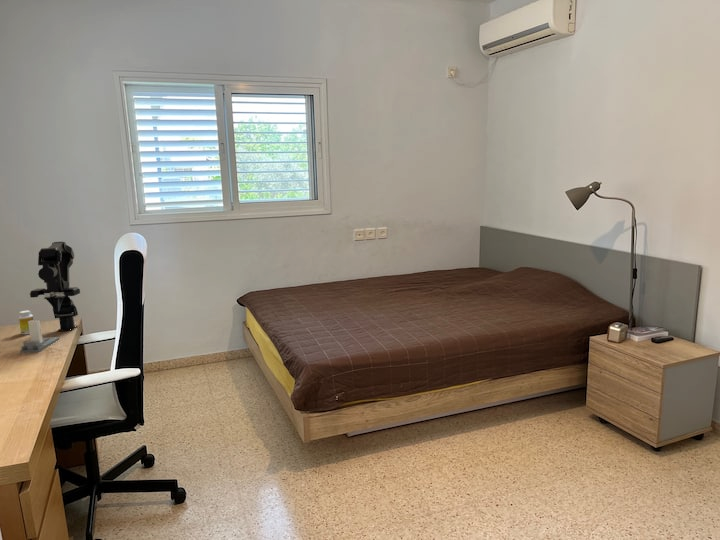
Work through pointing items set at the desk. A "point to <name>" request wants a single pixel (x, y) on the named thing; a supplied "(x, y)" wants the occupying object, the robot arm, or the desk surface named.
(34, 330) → the fader tab
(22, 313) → the supplement bottle
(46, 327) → the desk surface
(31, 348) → the console
